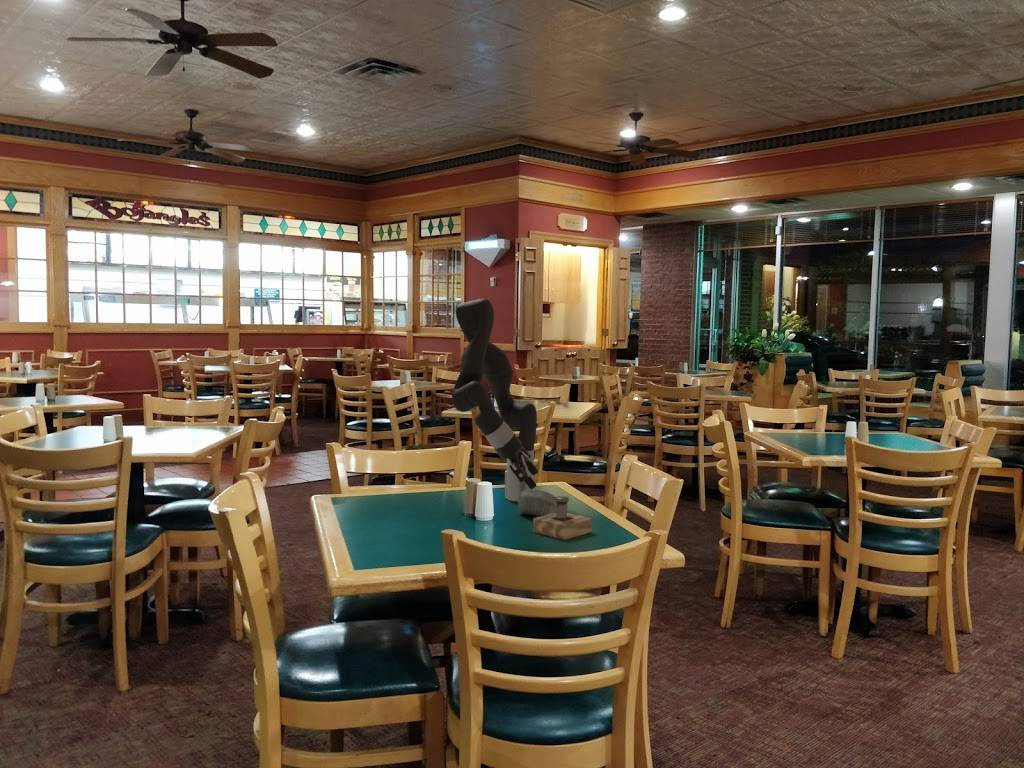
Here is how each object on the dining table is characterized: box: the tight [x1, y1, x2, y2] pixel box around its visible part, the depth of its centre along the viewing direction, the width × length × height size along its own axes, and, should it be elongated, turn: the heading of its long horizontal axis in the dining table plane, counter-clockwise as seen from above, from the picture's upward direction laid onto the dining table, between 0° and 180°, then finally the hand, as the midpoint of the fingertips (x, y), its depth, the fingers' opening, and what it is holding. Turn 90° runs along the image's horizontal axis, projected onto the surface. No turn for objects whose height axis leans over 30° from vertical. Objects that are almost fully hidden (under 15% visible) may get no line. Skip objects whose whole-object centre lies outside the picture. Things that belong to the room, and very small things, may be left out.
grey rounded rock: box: [517, 489, 556, 517], centre depth 257 cm, size 14×10×10 cm
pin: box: [554, 495, 570, 522], centre depth 239 cm, size 4×4×10 cm
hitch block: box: [532, 512, 593, 541], centre depth 239 cm, size 12×12×4 cm
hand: (534, 480), depth 245 cm, fingers open, 8 cm apart
